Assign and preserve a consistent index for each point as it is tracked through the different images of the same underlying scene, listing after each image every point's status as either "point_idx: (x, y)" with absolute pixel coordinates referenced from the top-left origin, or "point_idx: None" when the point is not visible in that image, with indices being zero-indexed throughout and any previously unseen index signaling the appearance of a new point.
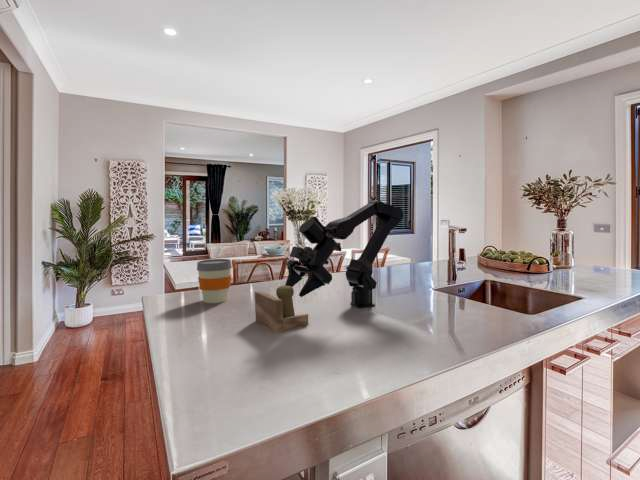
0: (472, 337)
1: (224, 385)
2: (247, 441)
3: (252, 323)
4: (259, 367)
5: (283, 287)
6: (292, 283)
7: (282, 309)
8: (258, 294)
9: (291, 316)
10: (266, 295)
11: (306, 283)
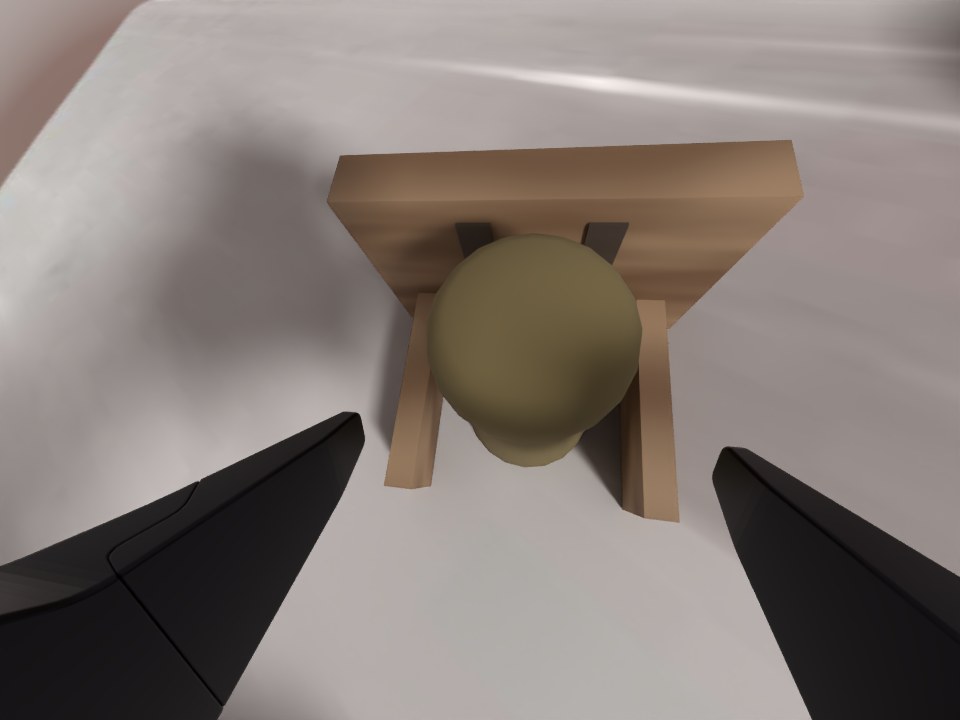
0: None
1: (248, 68)
2: (96, 62)
3: None
4: (248, 142)
5: (491, 269)
6: (814, 645)
7: (362, 249)
8: (683, 153)
9: (428, 372)
10: (554, 166)
11: (181, 505)
